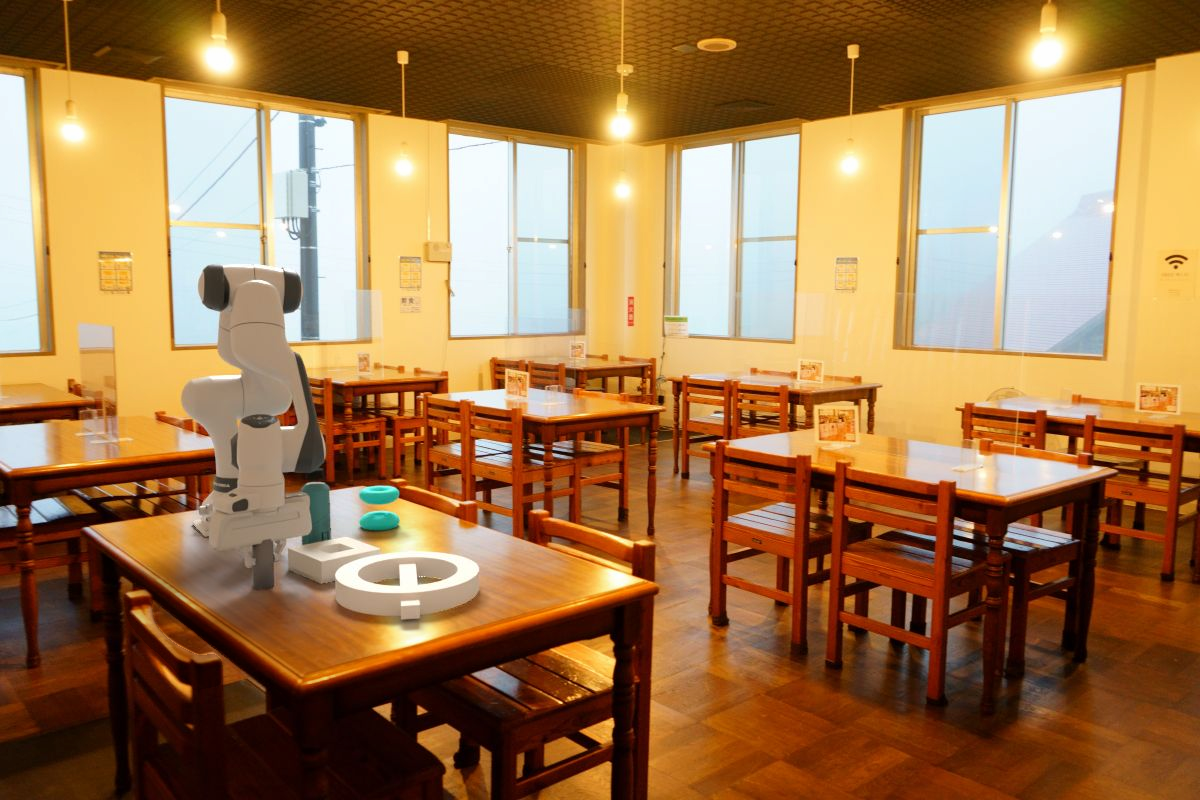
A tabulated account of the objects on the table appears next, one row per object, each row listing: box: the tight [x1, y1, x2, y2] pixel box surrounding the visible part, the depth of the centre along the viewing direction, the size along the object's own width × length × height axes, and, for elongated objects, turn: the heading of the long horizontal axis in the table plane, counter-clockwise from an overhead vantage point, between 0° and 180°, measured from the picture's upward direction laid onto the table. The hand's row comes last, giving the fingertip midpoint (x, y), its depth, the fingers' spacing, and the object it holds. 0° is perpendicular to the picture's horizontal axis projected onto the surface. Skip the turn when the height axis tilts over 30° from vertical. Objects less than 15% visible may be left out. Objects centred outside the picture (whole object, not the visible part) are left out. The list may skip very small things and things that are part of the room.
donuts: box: [358, 485, 401, 532], centre depth 233 cm, size 10×10×10 cm
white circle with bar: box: [334, 551, 480, 621], centre depth 182 cm, size 28×28×5 cm
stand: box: [287, 536, 382, 584], centre depth 196 cm, size 14×14×5 cm
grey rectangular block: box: [252, 539, 275, 590], centre depth 184 cm, size 4×4×10 cm
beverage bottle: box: [300, 467, 332, 545], centre depth 206 cm, size 6×7×20 cm
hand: (263, 563), depth 184 cm, fingers closed on grey rectangular block, 4 cm apart
